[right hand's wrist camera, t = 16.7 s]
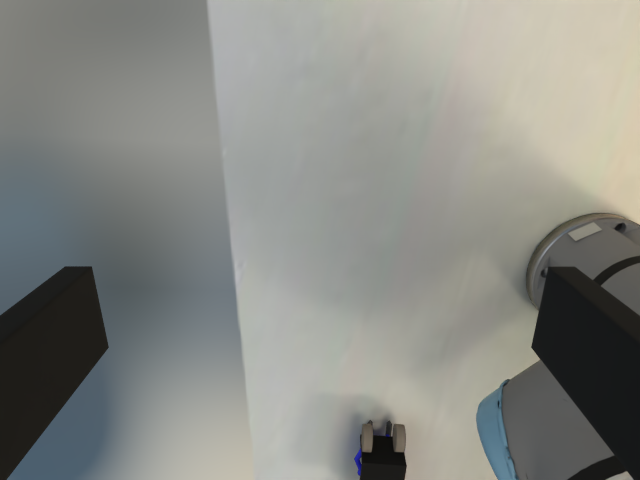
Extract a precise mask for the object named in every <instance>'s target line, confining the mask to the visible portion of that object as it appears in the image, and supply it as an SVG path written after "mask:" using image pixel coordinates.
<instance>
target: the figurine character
mask: <svg viewBox="0 0 640 480" xmlns="http://www.w3.org/2000/svg"><path fill="white" fill-rule="evenodd" d="M391 430H392V424H391V422H390V420H389V421H388V422H387V425H386V436H376V435H373V429H372V421H371V420H370V421H369V422H368V423H367V424H363V426H362V434H361V435H360V443H361V448H360V450H359V452H358V453H357V455H356V457H355V458H354V460H355V462H356V465H357V467H358V469H359V470H358V475H360V479H359V480H405V473H406V466H407V465H406V461H405V455H404V451H405V444H406V433H405V426H404V425H401V424H394V428H393V437H391ZM360 458H361V459H362V464H361V462H360V460H359V459H360Z"/></svg>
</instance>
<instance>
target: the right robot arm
mask: <svg viewBox="0 0 640 480" xmlns="http://www.w3.org/2000/svg"><path fill="white" fill-rule="evenodd" d="M526 285H527V291H528V294H529V297H530V299H531V301H532V303H533V304H534V305H535V307H536V308H537V309H538V310H539V313H538V318H537V323H536V328H535V332H534V337H533V342H532V347H531V348H532V349H533V350H534V352H535V353H536V354H537V355H538V357H539V358H540V359H541V360H539V361H538V362H536V363H535V364H533V365H532V366H530V367H529V368H527V369H526V370H524V371H523V372H521V373H520V374H518V375H517V376H515V377H514V378H512V379H507V380H505V381H504V382H503V383H502V384H501V386H500V387H499V388H498V389H497V390H495V391H494V392H492V393H491V394H490V395H488V396H487V397H486V398H484V399H483V400H482V401H481V403H480V404H479V407H478V411H477V415H476V422H477V428H478V433H479V436H480V440H481V443H482V446H483V448H484V451H485V453H486V456H487V458H488V460H489V463H490V465H491V467H492V469H493V471H494V473H495V475H496V477H497V479H498V480H640V225H638V224H637V223H635V222H632V221H630V220H628V219H626V218H624V217H621V216H618V215H613V214H605V213H599V214H590V215H585V216H581V217H578V218H575V219H573V220H570V221H568V222H566V223H564V224H563V225H561V226H559V227H558V228H557V229H555V230H554V231H553V232H551V233H550V234H549V235H548V236H547V237H546V238H545V239H544V240H543V241H542V242H541V243H540V245H539V246H538V247H537V249H536V251H535V252H534V254H533V256H532V258H531V260H530V263H529V266H528V269H527V276H526ZM107 349H108V342H107V337H106V332H105V328H104V323H103V318H102V313H101V309H100V304H99V299H98V294H97V289H96V285H95V280H94V275H93V270H92V267H64V268H63V269H61V270H60V271H59V272H57V273H56V274H55V275H53V276H52V277H51V278H49V279H48V280H47V281H45V282H44V283H43V284H41V285H40V286H39V287H37V288H36V289H35V290H33V291H32V292H31V293H29V294H28V295H27V296H26V297H24V298H23V299H22V300H20V301H19V302H18V303H16V304H15V305H14V306H12V307H11V308H10V309H8V310H7V311H6V312H4V313H3V314H2V315H0V480H7V478H8V477H9V476H10V474H11V473H12V472H13V470H14V469H15V468H16V467H17V465H18V464H19V463H20V461H21V460H22V459H23V458H24V456H25V455H26V454H27V452H28V451H29V450H30V449H31V447H32V446H33V445H34V443H35V442H36V441H37V439H38V438H39V437H40V436H41V434H42V433H43V432H44V430H45V429H46V428H47V427H48V425H49V424H50V423H51V421H52V420H53V419H54V417H55V416H56V415H57V414H58V412H59V411H60V410H61V408H62V407H63V406H64V405H65V403H66V402H67V401H68V399H69V398H70V397H71V396H72V394H73V393H74V392H75V390H76V389H77V388H78V386H79V385H80V384H81V383H82V381H83V380H84V379H85V377H86V376H87V375H88V374H89V372H90V371H91V370H92V368H93V367H94V366H95V364H96V363H97V362H98V360H99V359H100V358H101V357H102V355H103V354H104V353H105V352H106V350H107Z"/></svg>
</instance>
